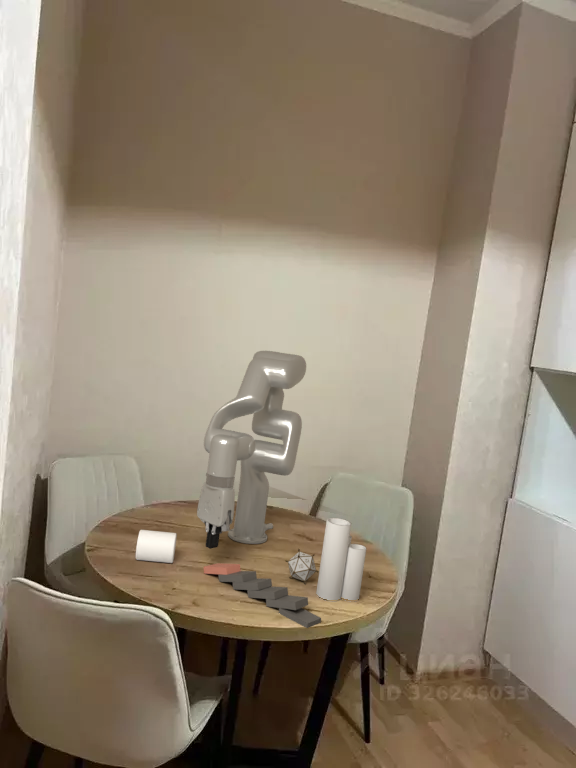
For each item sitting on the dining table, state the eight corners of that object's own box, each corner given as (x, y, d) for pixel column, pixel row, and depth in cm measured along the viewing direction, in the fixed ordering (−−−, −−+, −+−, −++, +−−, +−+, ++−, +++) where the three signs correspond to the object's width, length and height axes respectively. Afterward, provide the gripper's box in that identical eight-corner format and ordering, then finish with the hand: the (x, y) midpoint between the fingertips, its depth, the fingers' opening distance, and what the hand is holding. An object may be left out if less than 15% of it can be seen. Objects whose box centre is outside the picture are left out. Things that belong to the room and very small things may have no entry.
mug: (171, 567, 174) (175, 538, 173) (134, 564, 173) (137, 535, 172) (175, 551, 186) (178, 524, 185) (140, 548, 185) (143, 521, 184)
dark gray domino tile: (246, 578, 169) (271, 578, 163) (247, 585, 168) (272, 585, 163) (232, 582, 165) (257, 582, 159) (233, 589, 165) (258, 590, 159)
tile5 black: (278, 594, 161) (307, 597, 156) (279, 601, 161) (308, 605, 156) (265, 598, 157) (295, 602, 152) (266, 606, 157) (295, 610, 152)
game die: (292, 590, 178) (286, 554, 183) (322, 584, 178) (315, 548, 182) (287, 585, 170) (281, 548, 175) (319, 578, 170) (311, 541, 175)
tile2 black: (232, 571, 172) (256, 571, 166) (233, 577, 172) (256, 578, 166) (218, 574, 169) (242, 574, 163) (219, 581, 168) (242, 582, 162)
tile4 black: (260, 585, 165) (287, 587, 159) (261, 592, 165) (288, 594, 159) (247, 589, 161) (274, 591, 156) (248, 597, 161) (274, 599, 155)
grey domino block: (292, 603, 158) (321, 617, 152) (291, 610, 158) (320, 625, 152) (279, 608, 154) (307, 623, 148) (278, 615, 154) (306, 630, 149)
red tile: (217, 563, 176) (240, 564, 170) (218, 570, 176) (240, 571, 170) (203, 566, 173) (226, 567, 167) (204, 573, 172) (226, 574, 166)
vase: (321, 601, 164) (332, 525, 163) (312, 589, 171) (322, 516, 170) (361, 601, 168) (372, 527, 166) (351, 589, 175) (361, 518, 173)
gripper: (191, 475, 175) (183, 540, 176) (228, 489, 165) (219, 558, 166) (212, 473, 180) (204, 536, 182) (249, 486, 171) (240, 553, 172)
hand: (211, 546), depth 174 cm, fingers closed
